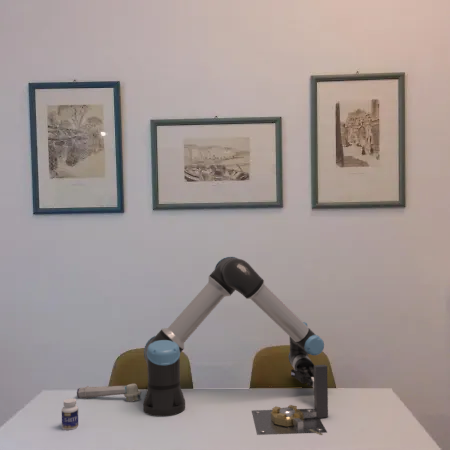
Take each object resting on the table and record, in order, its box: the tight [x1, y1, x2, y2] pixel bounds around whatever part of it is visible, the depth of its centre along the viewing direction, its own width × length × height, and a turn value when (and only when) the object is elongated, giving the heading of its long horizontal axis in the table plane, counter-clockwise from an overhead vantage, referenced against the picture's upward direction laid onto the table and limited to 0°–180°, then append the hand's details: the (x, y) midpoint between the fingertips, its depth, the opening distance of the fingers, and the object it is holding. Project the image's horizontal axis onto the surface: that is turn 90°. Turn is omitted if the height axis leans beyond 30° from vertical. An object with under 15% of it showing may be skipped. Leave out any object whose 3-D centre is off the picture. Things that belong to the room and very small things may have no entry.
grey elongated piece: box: [76, 383, 142, 403], centre depth 192 cm, size 5×7×25 cm
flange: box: [251, 406, 328, 436], centre depth 165 cm, size 22×22×4 cm
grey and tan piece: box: [271, 364, 329, 427], centre depth 166 cm, size 19×10×17 cm, turn 102°
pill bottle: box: [61, 397, 79, 431], centre depth 166 cm, size 5×5×9 cm
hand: (317, 386), depth 174 cm, fingers closed
